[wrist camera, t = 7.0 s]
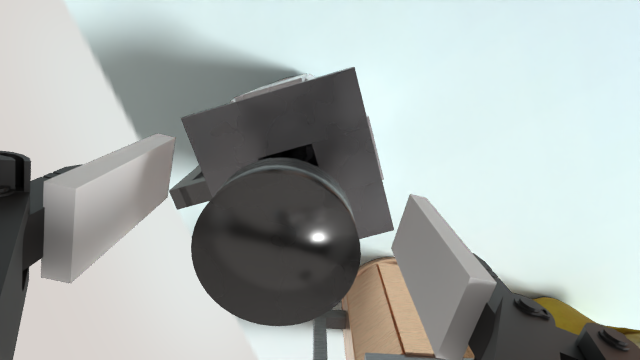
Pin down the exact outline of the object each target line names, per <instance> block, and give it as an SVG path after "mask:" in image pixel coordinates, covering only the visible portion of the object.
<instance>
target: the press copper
mask: <svg viewBox="0 0 640 360" xmlns="http://www.w3.org/2000/svg"><path fill="white" fill-rule="evenodd" d="M341 302H342V310H329V311H328V312H326V313H325V314H323V315H321V316H319V317H317V318H315V319H314V320H313V360H327V335H326V328H332V329H343V336H344V346H345V356H346V360H446V359H441V358H436V356H435V354H434V351H433V349H432V347H431V344H430V342H429V339H428V337H427V334H426V332H425V330H424V327H423V325H422V322H421V320H420V317H419V315H418V312H417V310H416V308H415V305H414V303H413V300H412V298H411V295H410V293H409V290H408V288H407V286H406V283H405V281H404V278H403V276H402V273H401V271H400V268H399V266H398V264H397V261H396V259H395V257H384V258H379V259H375V260H372V261H369V262H367V263H365V264H363V265H362V266H360V267H359V269H358V273H357V276H356V278H355V280H354V283H353V285H352V286H351V288H350V290H349V291H348V293H347V294H346V295H345V296H344V298H343V299H342V300H341ZM474 357H475V356H474V354H473V352H472V351H471V349H470V347H469V345H468V347H467V350H466V352H465V354H464V356H463V358H462V360H473V359H474Z"/></svg>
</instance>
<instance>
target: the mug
mask: <svg viewBox="0 0 640 360" xmlns="http://www.w3.org/2000/svg"><path fill="white" fill-rule="evenodd" d="M532 300H534V301H536V302H537V303H539V304H540V305H541V306H543V307H544V308H546V309H547V310H548V311H549V312H550V313H551V314H552V316H553V318H554V320H555V325H556V327H559V328H561V329H564V330H566V331H569V332H571V333H574V334H577V335H579V334H580V332H581V330H582V329H583V327H584V325H585V324H586V323H596V322H594V321H592V320H591V319H589V318H588V317H586V316H584V315H583V314H581V313H580V312H578V311H577V310H575V309H574V308H572V307H571V306H569V305H567V304H565V303H563V302H562V301H559V300H557V299H554V298H549V297H542V298H537V299H532ZM596 324H598V323H596ZM603 326H604V325H603ZM605 327H608V328H613V329H615V330H617V331H618V332H620V333H622V334H624V335H625V336H626V338H628V339H629V340H630V341H632V342H633V343H634V344H636V345H637V346H638V347H639V348H640V330H633V329H628V328H617V327H611V326H605Z"/></svg>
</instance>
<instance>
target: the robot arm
mask: <svg viewBox="0 0 640 360" xmlns="http://www.w3.org/2000/svg"><path fill="white" fill-rule="evenodd" d="M174 146H175V137H171V136H167V135H163V134H158V133H157V134H154V135H152V136H150V137H147V138H145V139H142V140H140V141H138V142H135V143H133V144H131V145H128V146H126V147H124V148H121V149H119V150H117V151H114V152H112V153H110V154H107V155H105V156H102V157H100V158H98V159H96V160H93V161H91V162H89V163H86V164H84V165H76V166H69V167H64V168H62V169H59V170H57V171H54V172H53V173H49V174H47V175H44V176H43V177H40V178H37V179H35V180H32V181H30V179H31V178H30V176H31V161H30V158H28V157H26V156H24V155H22V154H18V153H14V152H6V151H0V360H13V356H14V351H15V346H16V341H17V336H18V331H19V326H20V321H21V316H22V311H23V307H24V302H25V297H26V292H27V287H28V281H29V266H31V265H32V264H34V263H35V262H37V261H38V260H39V259H41V258H42V259H41V278H47V279H51V280H56V281H61V282H66V283H72V282H73V281H74V280H75V279H76V278H77V277H78V276H79V275H80V274H82V273H83V272H84V271H85V270H86V269H87V268H88V267H89V266H91V265H92V264H93V263H94V262H95V261H96V260H98V259H99V258H100V256H102V255H103V254H104V253H105V252H107V251H108V250H109V249H110V248H111V247H112V246H113V245H114V244H116V243H117V242H118V241H119V240H120V239H121V238H122V237H123V236H125V235H126V234H127V233H128V232H129V231H130V230H131V229H133V228H134V227H135V226H136V225H137V224H138V223H139V222H140V221H141V220H143V219H144V218H145V217H146V216H147V215H148V214H149V213H151V212H152V211H153V210H154V209H155V208H156V207H157V206H158V205H160V204H161V203H162V202H163V201H164V200H165V199H166V198H167V197H168V190H169V182H170V175H171V168H172V160H173V153H174ZM391 249H392V251H393V254H394V256H395V259H396V261H397V264H398V266H399V268H400V271H401V273H402V276H403V278H404V281H405V283H406V286H407V288H408V290H409V293H410V295H411V298H412V300H413V303H414V305H415V308H416V310H417V312H418V315H419V317H420V320H421V322H422V325H423V327H424V330H425V332H426V334H427V337H428V339H429V342H430V344H431V347H432V349H433V351H434V354H435V356H436V358H441V359H446V360H462V358H463V356H464V354H465V352H466V350H467V347H468V345H469V347H470V349H471V351H472V352H473V354H474V356H475V357H474V359H473V360H640V348H639V347H638V346H637V345H636V344H634V343H633V342H632V341H630V340H629V339H628V338H626V336H625V335H624V334H622V333H620V332H618V331H617V330H615V329H613V328H608V327H605V326H603V325H600V324H596V323H586V324H585V325H584V327H583V329H582V330H581V332H580V334H579V335H577V334H574V333H571V332H569V331H566V330H564V329H561V328H559V327H556V325H555V320H554V318H553V316H552V314H551V313H550V312H549V311H548V310H547V309H546V308H544V307H543V306H541V305H540V304H539V303H537V302H536V301H534V300H532V299H530V298H527V297H525V296H522V295H519V294H515V293H511V291H510V290H509V289H508V288H507V287H506V286H505V284H504V283H503V282H502V281H501V280H500V279H499V278H498V276H497V275H496V274H495V273H494V272H492V269H491V268H490V267H489V266H488V265H487V264H486V262H485V261H483V260H482V259H481V258H479V257H478V256H476V255H475V254H474V253H472V252H471V251H470V250H469V249H468V247H467V246H466V245H465V244H464V243H463V241H462V240H461V239H460V238H459V237H458V235H457V234H456V233H455V232H454V231H453V229H452V228H451V227H450V226H449V225H448V223H447V222H446V221H445V220H444V219H443V217H442V216H441V215H440V214H439V213H438V211H437V210H436V209H435V208H434V206H433V205H432V204H431V203H430V202H429V200H428V199H427V198H425V197H421V196H416V195H412V194H410V195H409V198H408V201H407V204H406V207H405V210H404V213H403V216H402V218H401V221H400V224H399V227H398V230H397V233H396V236H395V239H394V242H393V244H392V247H391Z"/></svg>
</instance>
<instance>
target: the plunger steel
mask: <svg viewBox="0 0 640 360" xmlns="http://www.w3.org/2000/svg"><path fill="white" fill-rule="evenodd" d="M266 157H267V159H263V160H259V161H256V162H253V163H250V164H248V165H246V166H244V167H242V168H241V169H239V170H238V171H236V172H235V173H234V174H233V175H231V176H230V177H229V178H228V179H227V180H226V181H225V183H224V184H223V185H222V186H221V188H220V189H219V190H218V191H217V193H216V194H215V195H214V197H213V198H212V199H211V200H210V202H209V203H208V204H207V205H206V207H205V208H204V209H203V211H202V213H201V214H200V216H199V218H198V220H197V222H196V225H195V227H194V231H193V236H192V244H191V252H192V260H193V265H194V269H195V271H196V274H197V277H198V279H199V281H200V283H201V284H202V286H203V287H204V289H205V290H206V292H207V293H208V294H209V295H210V296H211V298H212V299H213V300H214V301H215V302H216V303H218V304H219V305H220V306H221V307H222V308H224V309H225V310H227V311H228V312H230V313H231V314H233V315H235V316H237V317H239V318H242V319H244V320H247V321H249V322H253V323H257V324H262V325H269V326H288V325H295V324H300V323H304V322H307V321H310V320H312V319H315V318H317V317H319V316H321V315H323V314H325V313H326V312H328V311H329V310H331V309H332V308H333V307H335V306H336V305H337V304H338V303H339V302H340V301H341V300H342V299H343V298H344V296H345V295H346V294H347V293H348V291H349V290H350V288H351V286H352V285H353V283H354V280H355V278H356V276H357V273H358V269H359V265H360V255H361V253H360V242H359V237H358V232H357V228H356V224H355V220H354V216H353V212H352V208H351V205H350V202H349V200H348V198H347V196H346V194H345V192H344V191H343V189H342V188H341V187H340V185H339V184H338V183H337V182H336V181H335V180H334V179H333V178H332V177H331V176H330V175H329V174H327V173H326V172H325V171H323V170H322V169H320V168H319V166H318V163H317V159H316V156H315V153H314V149H313V146H312V143H311V144H307V145H304V146H300V147H297V148H293V149H290V150H286V151H283V152H279V153H275V154H272V155H268V156H266Z"/></svg>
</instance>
